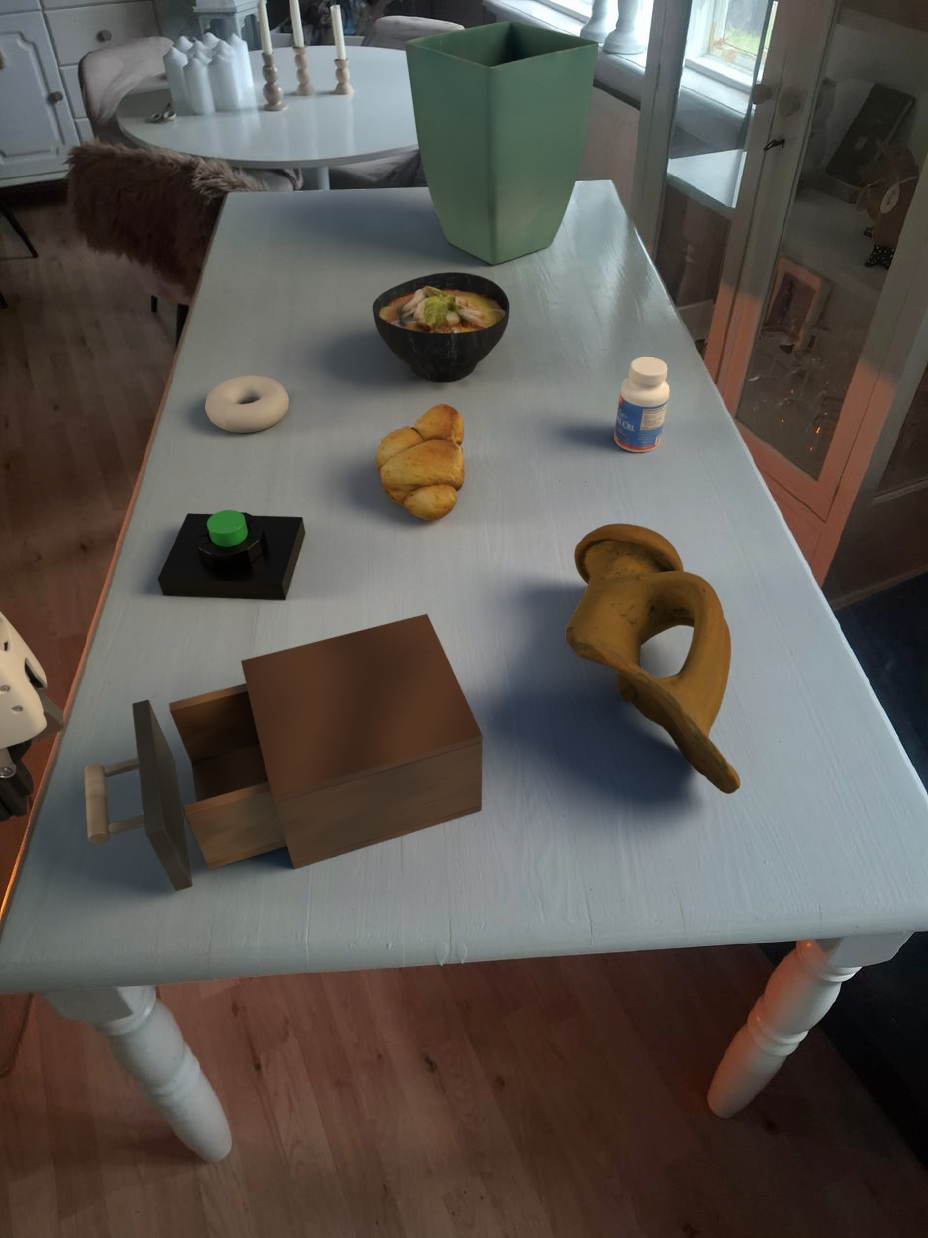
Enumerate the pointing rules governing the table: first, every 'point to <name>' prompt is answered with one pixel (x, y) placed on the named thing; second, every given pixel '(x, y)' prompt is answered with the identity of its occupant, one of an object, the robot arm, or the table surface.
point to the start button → (227, 528)
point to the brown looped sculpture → (640, 609)
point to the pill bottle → (642, 405)
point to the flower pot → (501, 131)
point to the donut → (236, 415)
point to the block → (234, 560)
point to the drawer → (223, 778)
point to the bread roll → (424, 463)
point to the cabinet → (364, 738)
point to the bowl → (442, 323)
